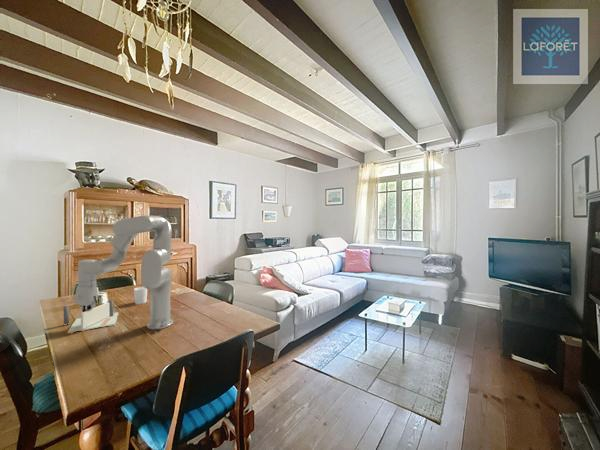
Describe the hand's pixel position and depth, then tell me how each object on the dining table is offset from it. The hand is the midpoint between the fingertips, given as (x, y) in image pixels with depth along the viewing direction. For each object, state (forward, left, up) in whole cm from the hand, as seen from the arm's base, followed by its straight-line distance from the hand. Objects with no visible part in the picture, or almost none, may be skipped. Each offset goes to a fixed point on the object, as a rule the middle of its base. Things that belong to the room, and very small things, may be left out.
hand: (86, 316), depth 129 cm
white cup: (+28, -24, -5) cm, 37 cm away
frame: (+3, -1, -5) cm, 6 cm away
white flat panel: (-1, -4, -4) cm, 5 cm away
